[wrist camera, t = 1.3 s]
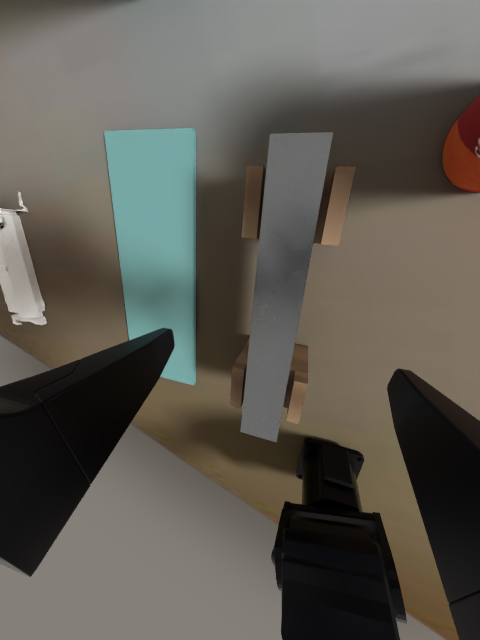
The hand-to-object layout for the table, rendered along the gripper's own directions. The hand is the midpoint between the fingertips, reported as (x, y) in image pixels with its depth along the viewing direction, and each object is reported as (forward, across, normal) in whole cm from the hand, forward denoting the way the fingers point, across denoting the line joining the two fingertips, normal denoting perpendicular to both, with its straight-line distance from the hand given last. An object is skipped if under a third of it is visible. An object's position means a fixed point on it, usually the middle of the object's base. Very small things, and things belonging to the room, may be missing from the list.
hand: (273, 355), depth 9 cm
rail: (+8, 0, +2) cm, 9 cm away
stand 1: (+14, 0, -4) cm, 15 cm away
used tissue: (+16, +37, +4) cm, 40 cm away
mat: (+14, +14, +3) cm, 20 cm away
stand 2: (+12, 0, +10) cm, 16 cm away
